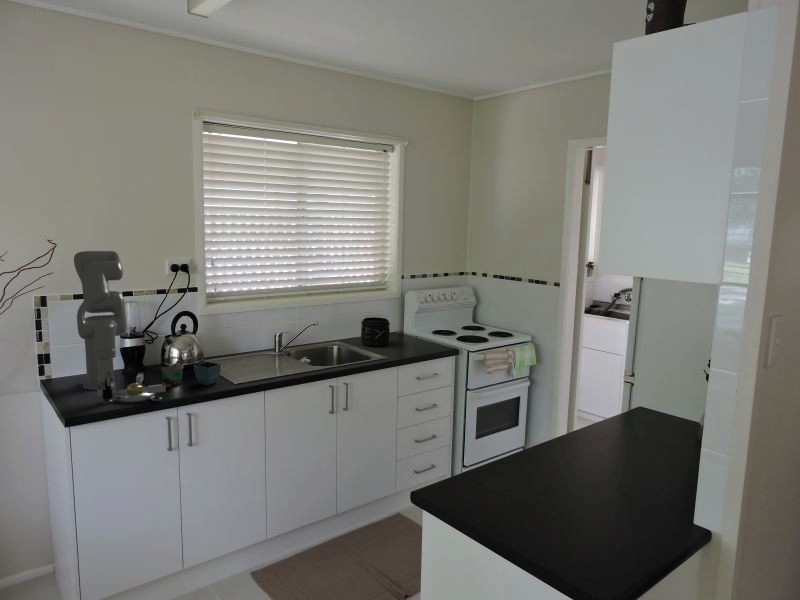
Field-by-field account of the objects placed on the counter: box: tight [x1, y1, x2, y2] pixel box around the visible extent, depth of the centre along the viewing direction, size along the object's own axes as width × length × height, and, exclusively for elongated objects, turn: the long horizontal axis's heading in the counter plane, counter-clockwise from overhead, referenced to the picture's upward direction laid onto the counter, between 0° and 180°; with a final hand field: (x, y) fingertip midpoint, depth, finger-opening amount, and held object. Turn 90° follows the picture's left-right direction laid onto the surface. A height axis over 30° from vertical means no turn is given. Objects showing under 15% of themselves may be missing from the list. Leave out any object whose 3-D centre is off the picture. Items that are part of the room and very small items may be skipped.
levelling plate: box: [100, 382, 164, 405], centre depth 241 cm, size 21×24×6 cm
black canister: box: [360, 316, 391, 348], centre depth 354 cm, size 18×18×16 cm
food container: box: [161, 360, 185, 389], centre depth 259 cm, size 12×6×10 cm, turn 168°
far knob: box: [147, 382, 167, 398], centre depth 238 cm, size 6×2×6 cm, turn 123°
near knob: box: [96, 385, 117, 400], centre depth 233 cm, size 6×2×6 cm, turn 133°
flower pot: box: [193, 361, 222, 386], centre depth 263 cm, size 9×9×9 cm
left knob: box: [135, 372, 144, 385], centre depth 252 cm, size 6×2×6 cm, turn 14°
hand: (107, 397), depth 234 cm, fingers closed on near knob, 2 cm apart
